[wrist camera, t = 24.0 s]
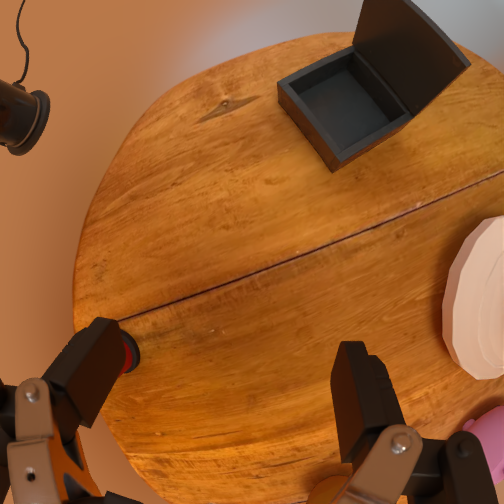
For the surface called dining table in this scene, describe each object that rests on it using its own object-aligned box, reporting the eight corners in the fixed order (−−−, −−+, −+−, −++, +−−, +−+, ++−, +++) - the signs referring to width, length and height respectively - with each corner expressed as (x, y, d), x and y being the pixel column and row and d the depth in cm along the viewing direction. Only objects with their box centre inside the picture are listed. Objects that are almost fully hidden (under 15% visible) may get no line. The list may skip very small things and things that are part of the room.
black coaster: (95, 339, 34) (90, 341, 33) (122, 320, 33) (118, 322, 32) (119, 376, 33) (116, 379, 32) (148, 360, 33) (145, 363, 32)
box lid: (466, 67, 12) (472, 64, 12) (369, -26, 12) (376, -27, 12) (414, 116, 23) (419, 113, 22) (351, 43, 23) (357, 41, 23)
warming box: (332, 173, 29) (340, 162, 24) (278, 102, 29) (276, 81, 24) (399, 131, 28) (415, 116, 23) (346, 66, 28) (353, 44, 23)
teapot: (529, 375, 26) (571, 403, 14) (510, 436, 27) (540, 468, 15) (441, 418, 29) (479, 469, 16) (426, 477, 29) (448, 524, 17)
